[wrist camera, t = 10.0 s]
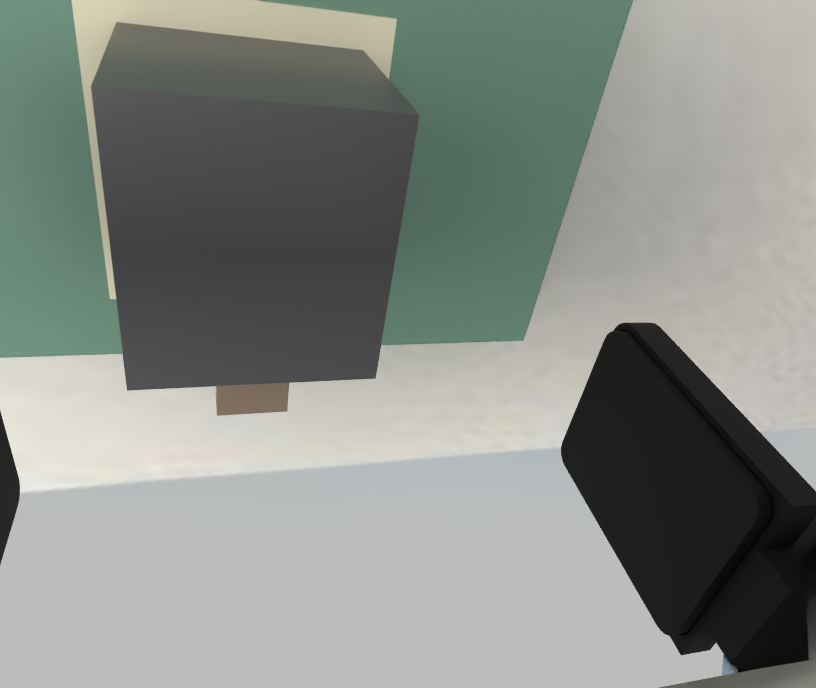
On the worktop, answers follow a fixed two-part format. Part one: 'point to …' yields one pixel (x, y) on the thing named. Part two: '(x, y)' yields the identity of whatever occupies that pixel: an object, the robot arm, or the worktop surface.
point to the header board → (429, 175)
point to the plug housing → (249, 209)
